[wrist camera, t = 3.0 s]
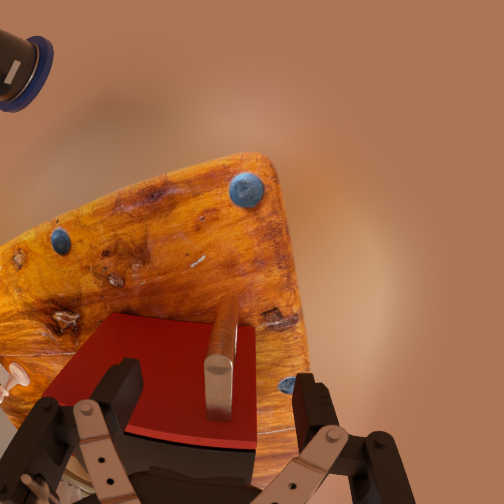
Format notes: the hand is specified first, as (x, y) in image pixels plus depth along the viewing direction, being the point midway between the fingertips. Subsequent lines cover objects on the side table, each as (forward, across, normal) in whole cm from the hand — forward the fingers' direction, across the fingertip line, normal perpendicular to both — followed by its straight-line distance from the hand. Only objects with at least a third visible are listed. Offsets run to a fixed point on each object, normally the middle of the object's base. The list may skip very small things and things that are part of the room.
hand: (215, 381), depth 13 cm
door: (+15, +6, +3) cm, 16 cm away
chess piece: (+15, +38, +22) cm, 46 cm away
